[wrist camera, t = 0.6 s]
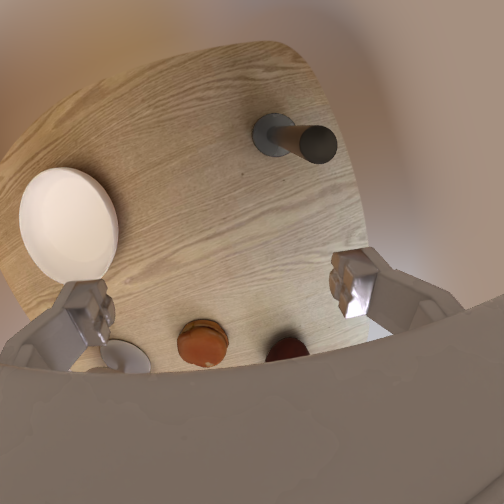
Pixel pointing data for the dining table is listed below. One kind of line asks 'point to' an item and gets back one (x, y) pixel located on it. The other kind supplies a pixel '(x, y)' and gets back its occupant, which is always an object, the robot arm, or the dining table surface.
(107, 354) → the chalice
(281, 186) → the dining table surface
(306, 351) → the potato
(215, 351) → the burger
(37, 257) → the bowl
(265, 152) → the rod on round base
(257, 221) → the dining table surface
